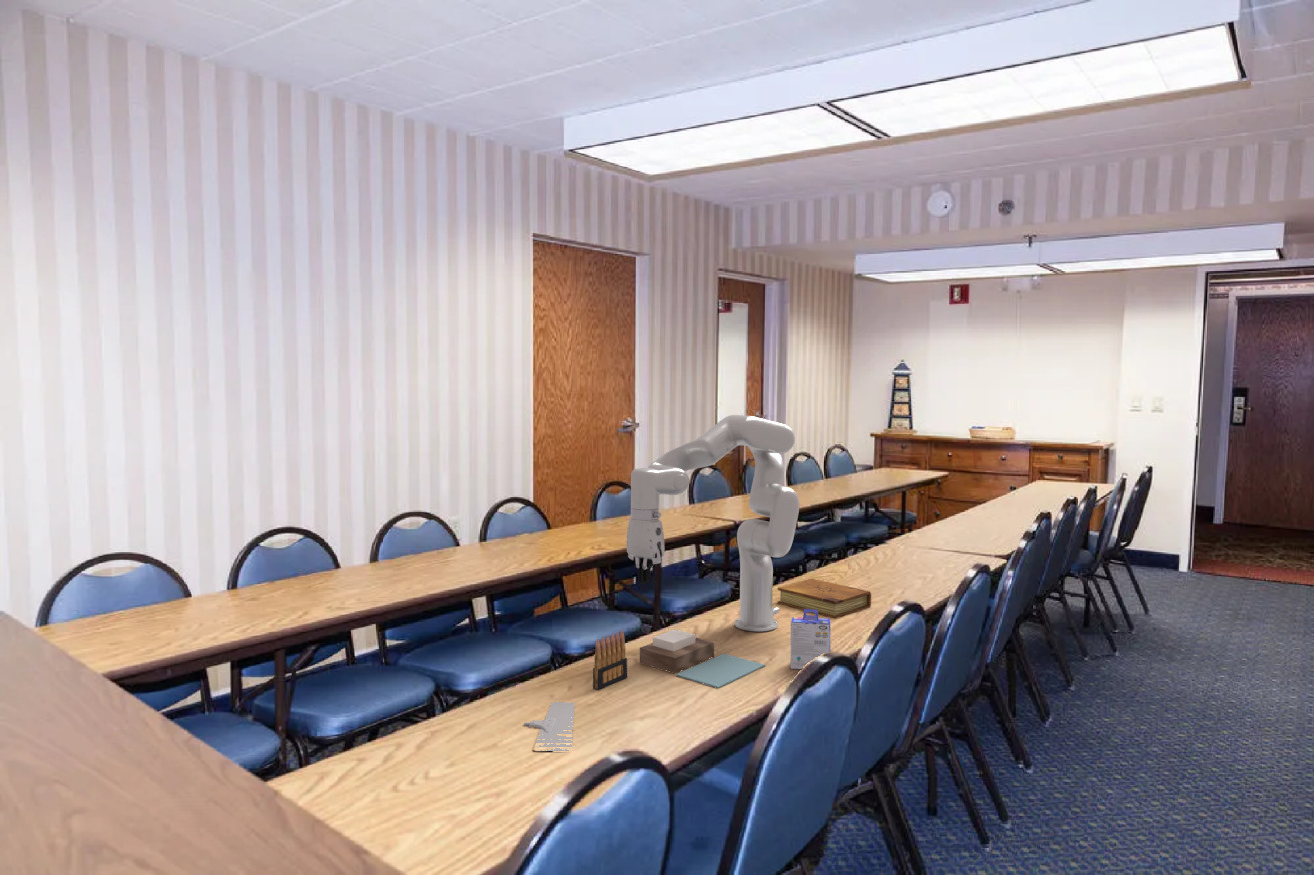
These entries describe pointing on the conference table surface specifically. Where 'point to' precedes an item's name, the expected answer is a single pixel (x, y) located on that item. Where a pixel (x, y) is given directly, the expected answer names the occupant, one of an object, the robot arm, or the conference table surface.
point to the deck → (677, 656)
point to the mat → (720, 670)
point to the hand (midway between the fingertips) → (644, 582)
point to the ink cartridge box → (809, 638)
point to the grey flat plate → (555, 725)
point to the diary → (824, 597)
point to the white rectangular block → (674, 640)
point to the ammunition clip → (609, 662)
